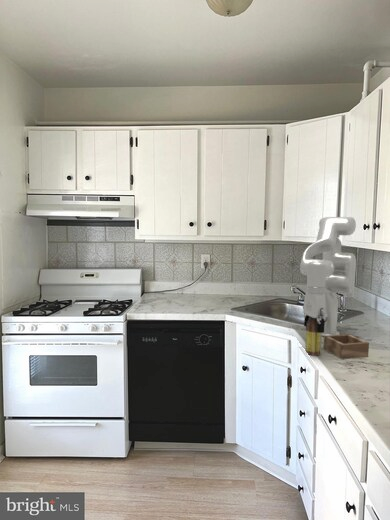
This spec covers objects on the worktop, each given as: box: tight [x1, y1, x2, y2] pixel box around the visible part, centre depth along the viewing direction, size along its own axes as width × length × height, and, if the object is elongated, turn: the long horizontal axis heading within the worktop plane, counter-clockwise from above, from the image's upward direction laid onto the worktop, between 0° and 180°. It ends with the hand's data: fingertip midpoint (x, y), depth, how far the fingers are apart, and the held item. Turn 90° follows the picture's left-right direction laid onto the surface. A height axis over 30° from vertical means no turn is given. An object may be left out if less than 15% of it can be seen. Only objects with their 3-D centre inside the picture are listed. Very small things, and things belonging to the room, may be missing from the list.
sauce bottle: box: [305, 316, 322, 356], centre depth 160 cm, size 7×6×20 cm
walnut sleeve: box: [323, 333, 370, 360], centre depth 162 cm, size 13×13×6 cm
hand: (313, 329), depth 160 cm, fingers open, 9 cm apart
